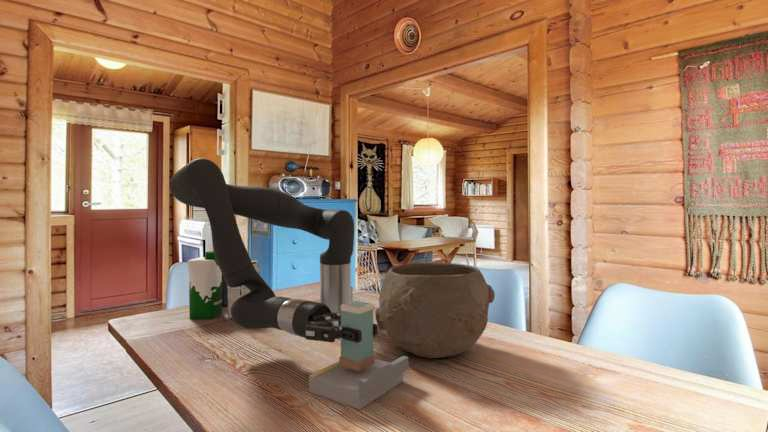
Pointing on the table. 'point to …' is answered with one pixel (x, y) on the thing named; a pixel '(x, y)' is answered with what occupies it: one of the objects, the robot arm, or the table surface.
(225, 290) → the supplement bottle
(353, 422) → the table surface
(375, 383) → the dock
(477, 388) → the table surface
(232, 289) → the candy bar box
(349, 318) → the teal tall block
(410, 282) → the bowl
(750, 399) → the table surface
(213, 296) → the milk carton
